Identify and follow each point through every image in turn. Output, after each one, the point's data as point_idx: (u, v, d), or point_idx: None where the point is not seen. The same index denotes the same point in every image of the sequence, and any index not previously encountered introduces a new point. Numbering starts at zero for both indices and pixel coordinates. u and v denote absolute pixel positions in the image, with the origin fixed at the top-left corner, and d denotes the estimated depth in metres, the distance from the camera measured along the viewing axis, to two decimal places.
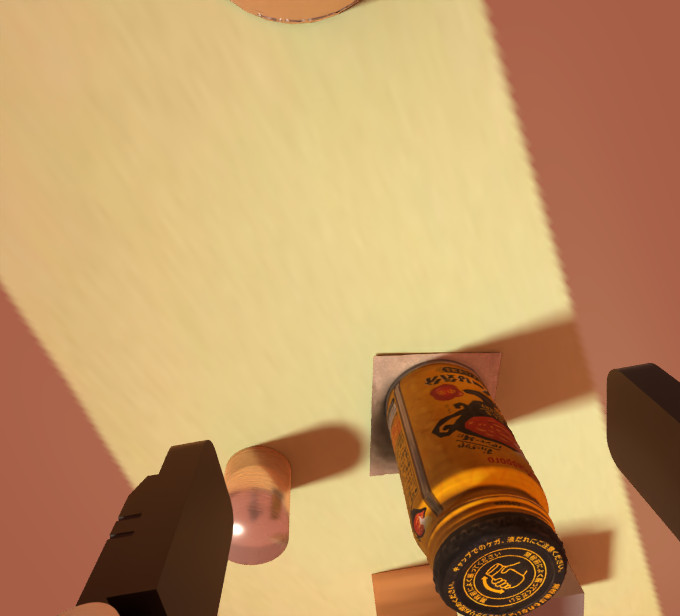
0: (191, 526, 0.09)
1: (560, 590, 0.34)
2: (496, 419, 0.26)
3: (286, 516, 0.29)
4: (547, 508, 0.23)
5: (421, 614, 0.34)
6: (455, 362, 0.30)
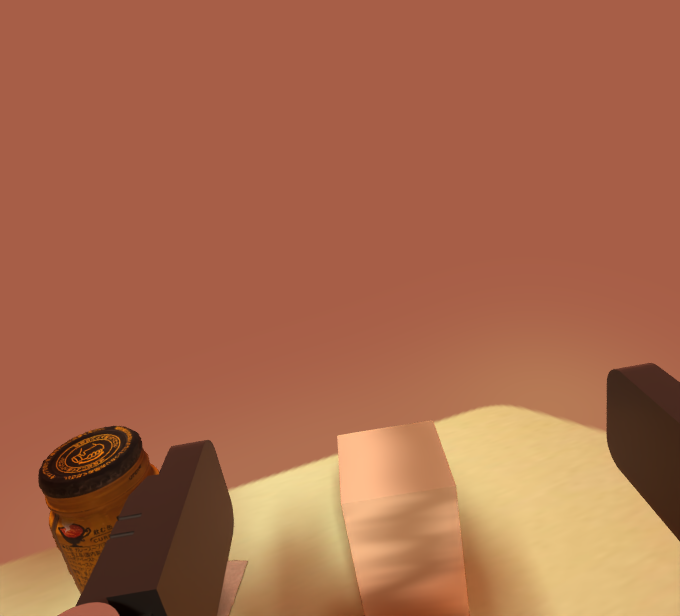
0: (191, 526, 0.09)
1: None
2: None
3: None
4: None
5: None
6: None
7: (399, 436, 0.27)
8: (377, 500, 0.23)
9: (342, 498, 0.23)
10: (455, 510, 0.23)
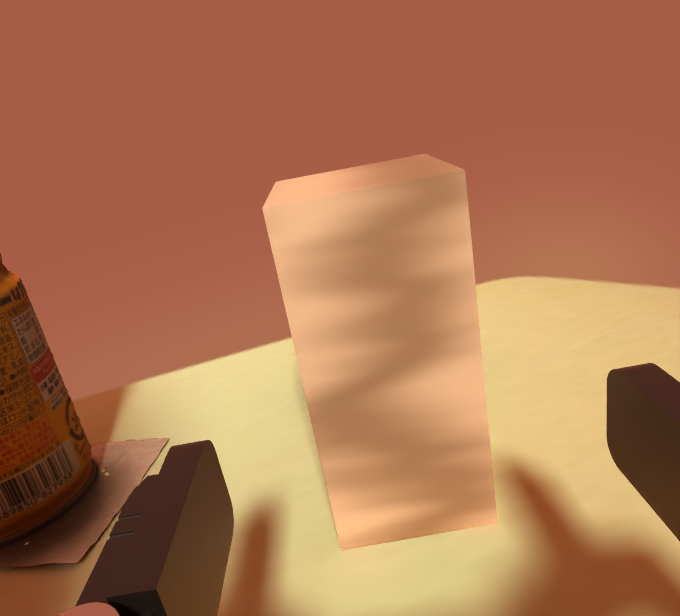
0: (191, 526, 0.09)
1: None
2: None
3: None
4: None
5: None
6: None
7: (372, 167, 0.17)
8: (327, 201, 0.13)
9: (266, 204, 0.13)
10: (464, 225, 0.13)
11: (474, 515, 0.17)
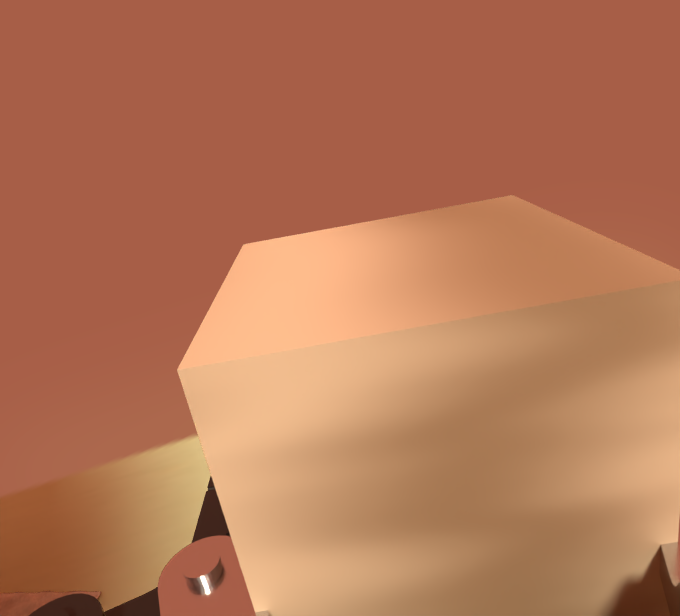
0: None
1: None
2: None
3: None
4: None
5: None
6: None
7: (422, 224, 0.09)
8: (342, 353, 0.05)
9: (191, 353, 0.05)
10: (674, 402, 0.06)
11: None
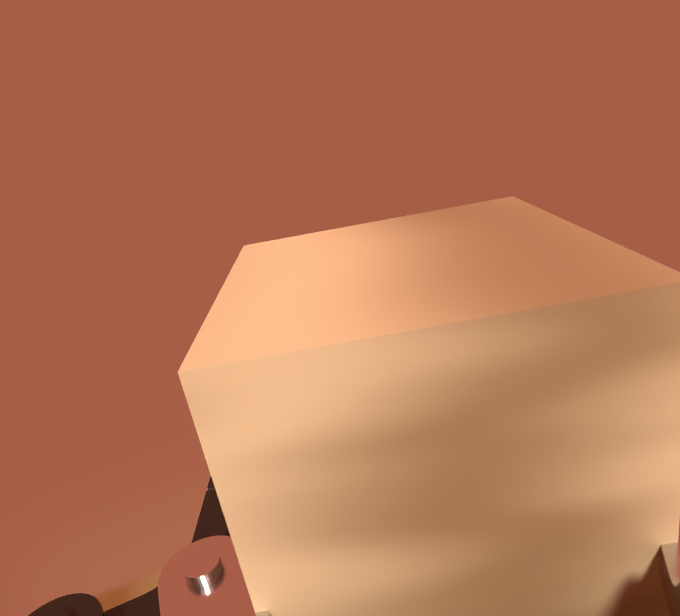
0: None
1: None
2: None
3: None
4: None
5: None
6: None
7: (422, 226, 0.09)
8: (342, 355, 0.05)
9: (191, 355, 0.05)
10: (674, 404, 0.06)
11: None
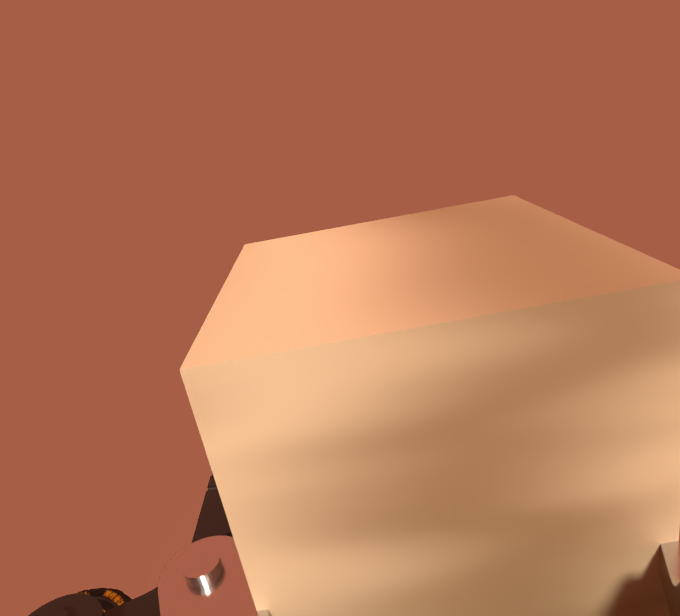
0: None
1: None
2: None
3: None
4: None
5: None
6: None
7: (423, 224, 0.09)
8: (344, 353, 0.05)
9: (193, 353, 0.05)
10: (675, 402, 0.06)
11: None
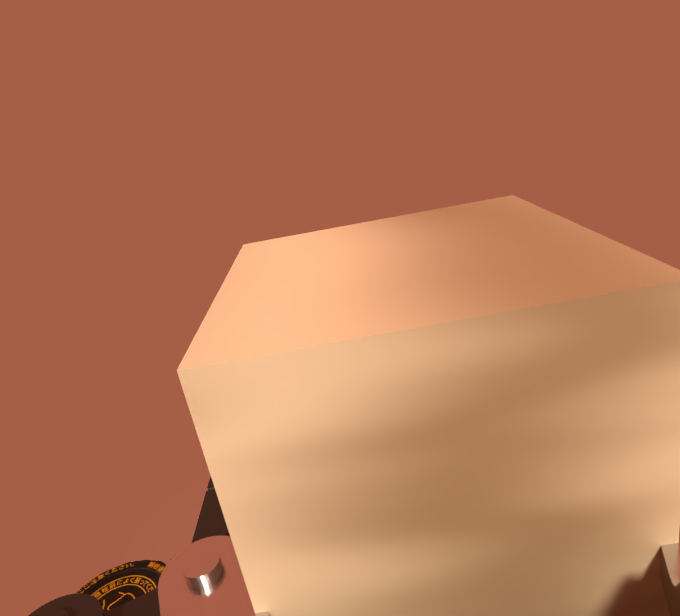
0: None
1: None
2: None
3: None
4: None
5: None
6: None
7: (422, 224, 0.09)
8: (342, 353, 0.05)
9: (191, 354, 0.05)
10: (675, 403, 0.05)
11: None
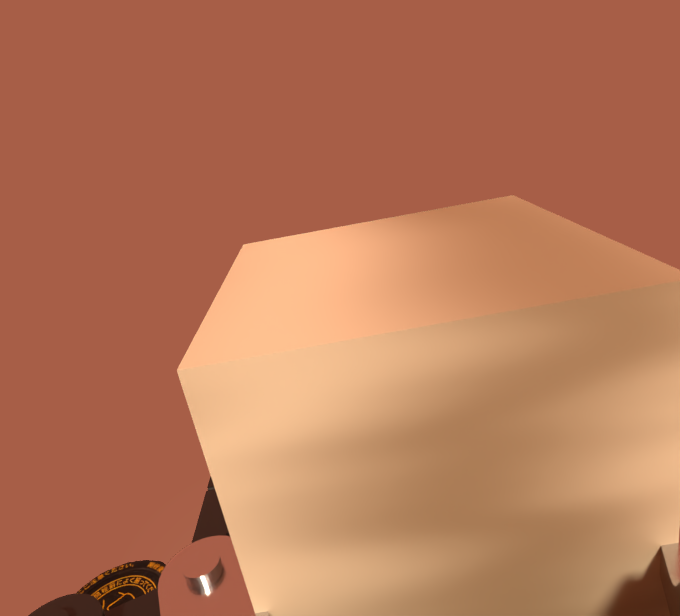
0: None
1: None
2: None
3: None
4: None
5: None
6: None
7: (422, 224, 0.09)
8: (342, 353, 0.05)
9: (191, 354, 0.05)
10: (675, 403, 0.05)
11: None
